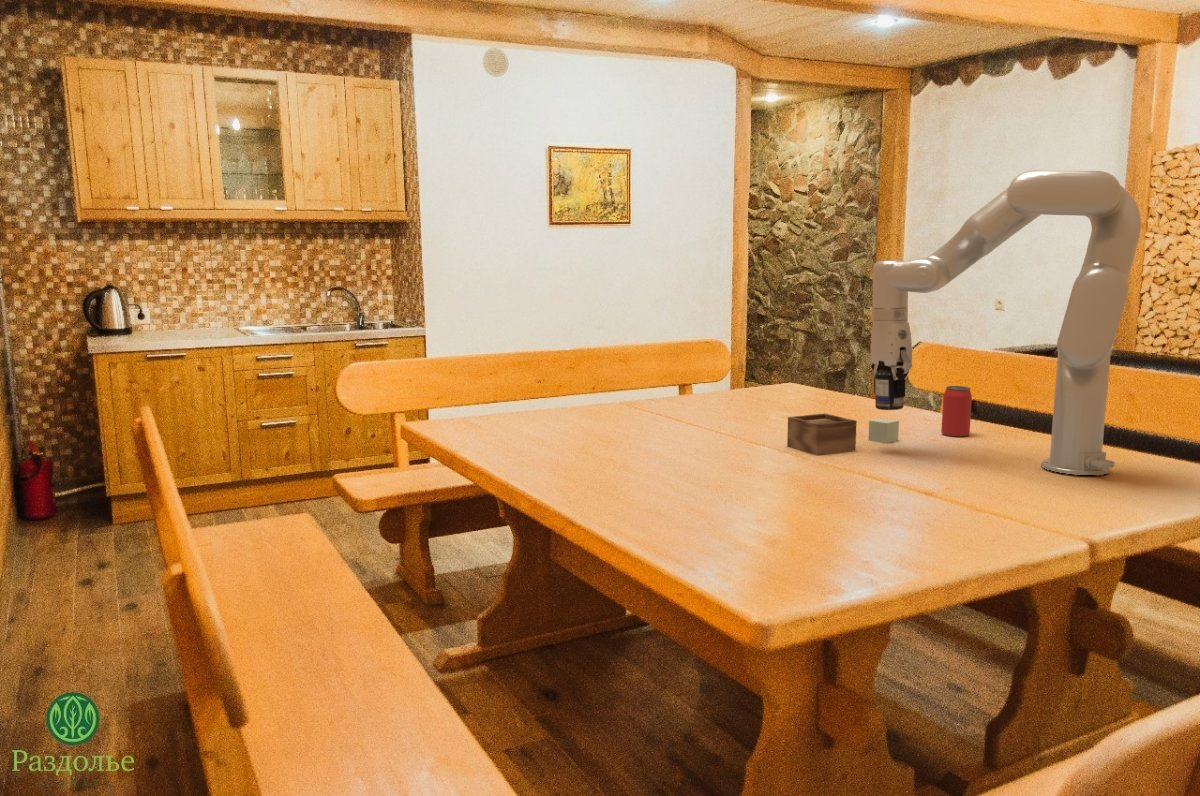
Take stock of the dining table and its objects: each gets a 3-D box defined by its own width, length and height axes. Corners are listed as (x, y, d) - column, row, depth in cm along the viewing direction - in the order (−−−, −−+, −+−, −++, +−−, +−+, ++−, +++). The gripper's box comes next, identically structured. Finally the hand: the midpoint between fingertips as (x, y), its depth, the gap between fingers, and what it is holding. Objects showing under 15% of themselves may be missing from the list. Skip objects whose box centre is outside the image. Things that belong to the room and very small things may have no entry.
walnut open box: (855, 450, 206) (856, 420, 205) (817, 455, 201) (818, 424, 200) (824, 441, 216) (825, 413, 215) (787, 446, 211) (788, 417, 210)
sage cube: (898, 441, 217) (898, 420, 216) (886, 443, 214) (887, 423, 213) (879, 438, 221) (880, 418, 220) (868, 440, 218) (869, 420, 217)
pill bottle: (900, 406, 206) (900, 358, 204) (906, 410, 200) (906, 361, 198) (872, 406, 206) (872, 359, 205) (878, 410, 200) (878, 361, 199)
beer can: (973, 437, 220) (976, 389, 219) (946, 437, 221) (949, 389, 219) (963, 432, 227) (966, 385, 225) (937, 432, 227) (939, 385, 225)
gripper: (928, 316, 193) (927, 399, 195) (883, 313, 209) (882, 389, 212) (897, 318, 191) (896, 401, 193) (854, 315, 208) (854, 392, 210)
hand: (889, 394), depth 203 cm, fingers closed on pill bottle, 6 cm apart
